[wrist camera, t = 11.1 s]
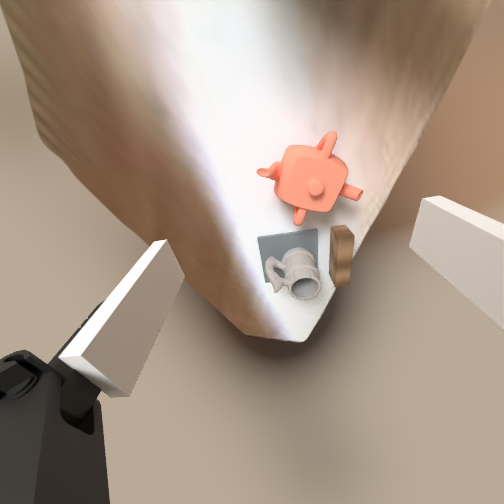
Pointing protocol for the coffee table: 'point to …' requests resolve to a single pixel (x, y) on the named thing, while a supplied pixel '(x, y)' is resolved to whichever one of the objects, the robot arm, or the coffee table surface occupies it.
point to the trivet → (286, 246)
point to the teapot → (311, 178)
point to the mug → (295, 273)
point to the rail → (340, 255)
